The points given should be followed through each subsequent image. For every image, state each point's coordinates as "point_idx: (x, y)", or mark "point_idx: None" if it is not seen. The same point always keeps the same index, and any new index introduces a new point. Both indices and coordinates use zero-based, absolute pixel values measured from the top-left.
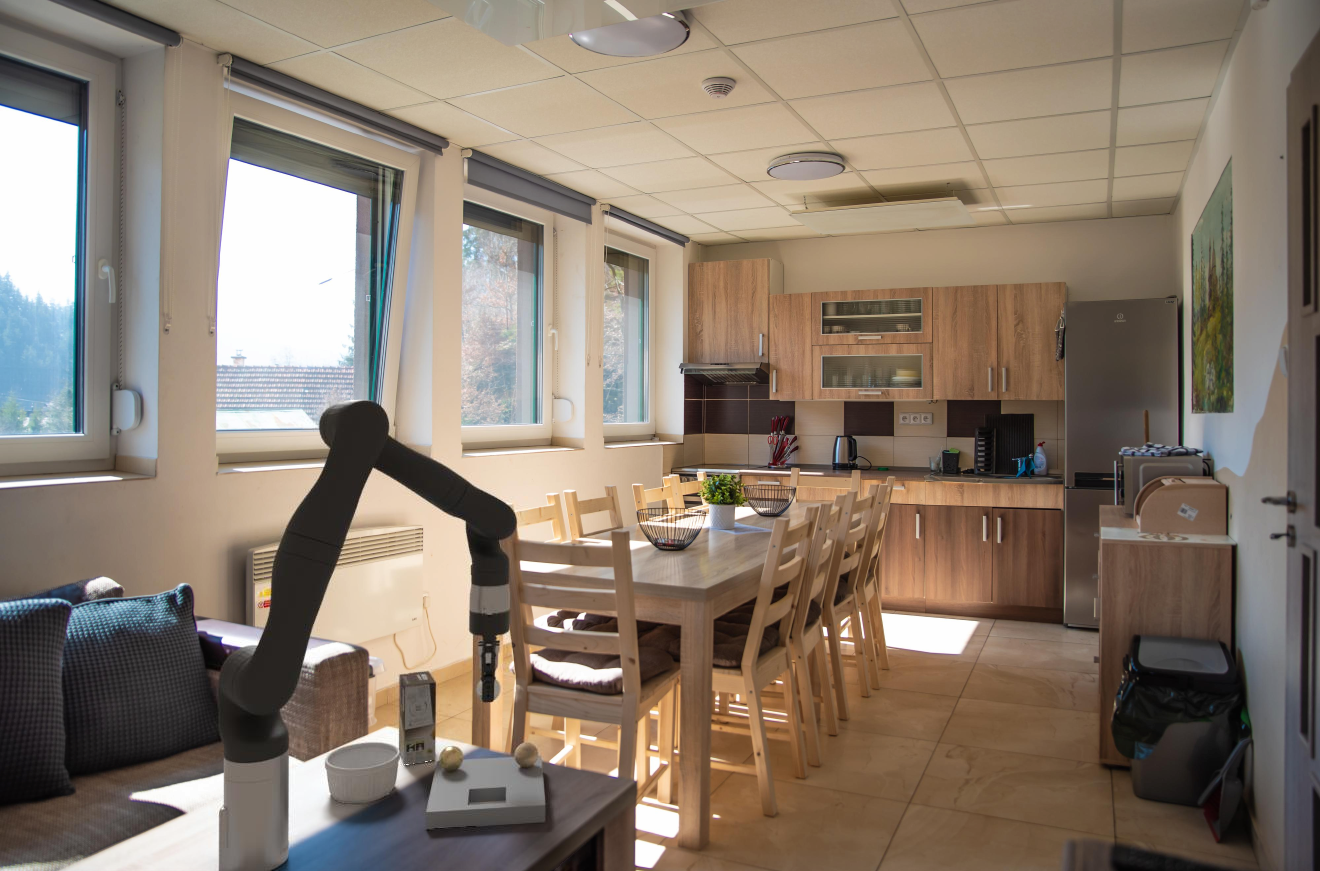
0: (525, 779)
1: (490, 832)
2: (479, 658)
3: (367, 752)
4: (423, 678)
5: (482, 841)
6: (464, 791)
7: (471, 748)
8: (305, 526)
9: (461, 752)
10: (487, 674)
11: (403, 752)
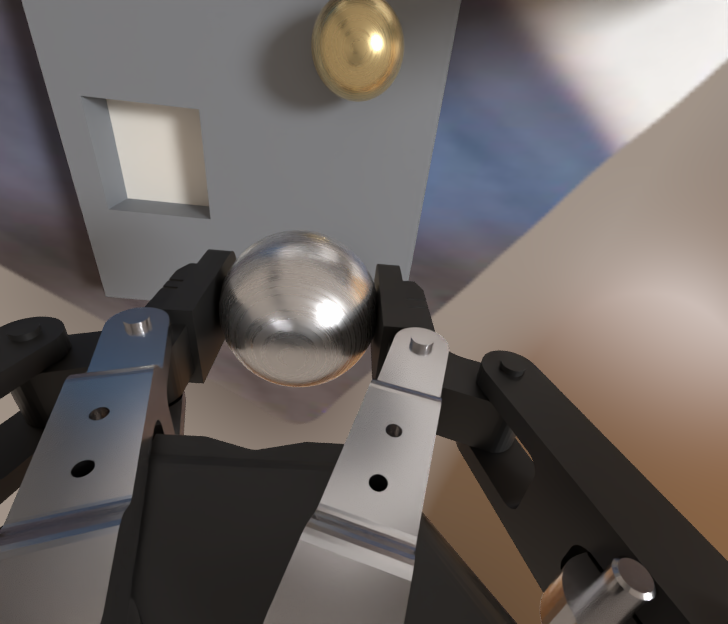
0: None
1: (60, 152)
2: (35, 463)
3: None
4: None
5: (7, 128)
6: (179, 91)
7: (627, 139)
8: None
9: (347, 93)
10: (380, 354)
11: None
